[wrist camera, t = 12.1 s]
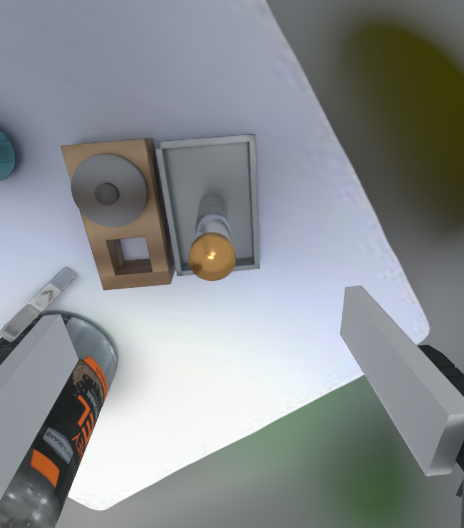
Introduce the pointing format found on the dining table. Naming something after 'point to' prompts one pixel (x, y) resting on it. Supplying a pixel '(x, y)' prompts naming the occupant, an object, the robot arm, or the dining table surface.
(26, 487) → the supplement tub
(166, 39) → the dining table surface
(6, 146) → the beverage bottle
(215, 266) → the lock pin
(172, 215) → the tray
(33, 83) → the dining table surface
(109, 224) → the pulley block
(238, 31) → the dining table surface
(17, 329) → the lighter
